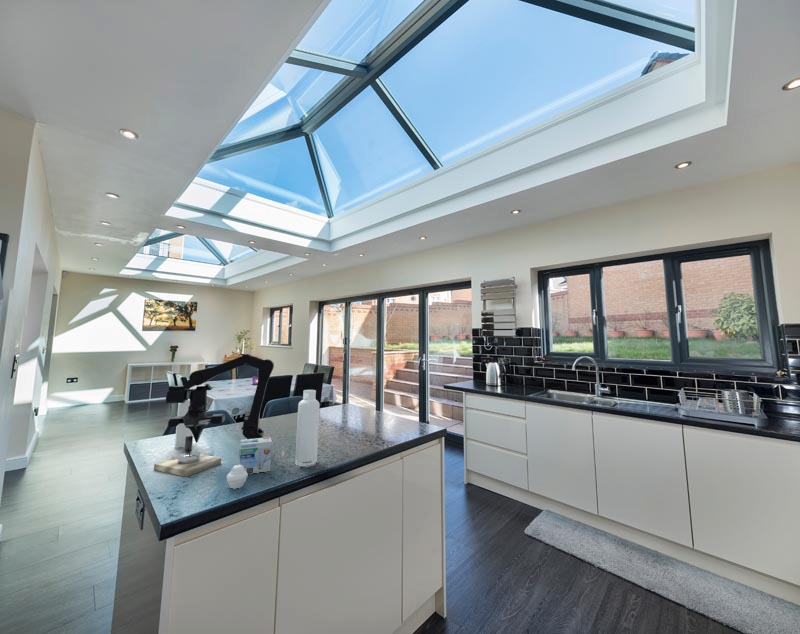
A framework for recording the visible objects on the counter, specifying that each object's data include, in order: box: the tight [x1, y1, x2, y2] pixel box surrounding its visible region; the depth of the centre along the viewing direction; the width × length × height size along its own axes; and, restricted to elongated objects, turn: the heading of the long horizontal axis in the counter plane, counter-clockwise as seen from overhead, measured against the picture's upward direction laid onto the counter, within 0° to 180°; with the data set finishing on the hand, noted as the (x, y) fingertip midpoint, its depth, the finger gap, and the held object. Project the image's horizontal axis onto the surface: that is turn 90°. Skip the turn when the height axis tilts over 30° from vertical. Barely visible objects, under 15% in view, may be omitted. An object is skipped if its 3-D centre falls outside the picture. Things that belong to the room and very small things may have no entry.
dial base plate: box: [153, 453, 222, 478], centre depth 121 cm, size 17×14×2 cm
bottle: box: [294, 389, 321, 466], centre depth 127 cm, size 8×8×28 cm
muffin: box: [225, 464, 248, 489], centre depth 105 cm, size 6×6×7 cm
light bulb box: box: [238, 436, 273, 475], centre depth 119 cm, size 11×7×11 cm, turn 117°
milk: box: [174, 398, 193, 449], centre depth 146 cm, size 6×6×22 cm
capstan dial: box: [177, 435, 201, 464], centre depth 123 cm, size 12×7×7 cm, turn 36°
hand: (196, 442), depth 128 cm, fingers closed
